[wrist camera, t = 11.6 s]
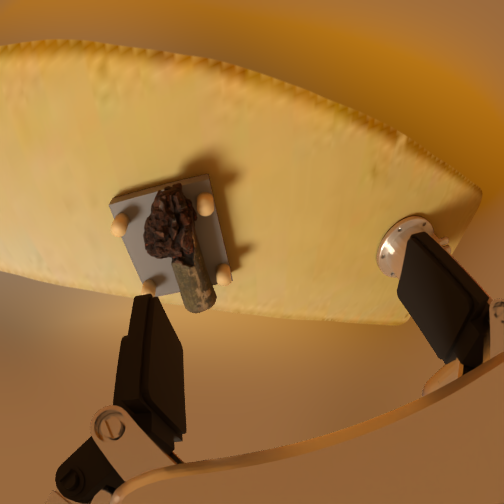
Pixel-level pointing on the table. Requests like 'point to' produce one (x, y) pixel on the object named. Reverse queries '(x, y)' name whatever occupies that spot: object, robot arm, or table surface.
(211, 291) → the dark elongated piece
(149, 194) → the pipe stand
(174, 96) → the table surface
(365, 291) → the table surface
